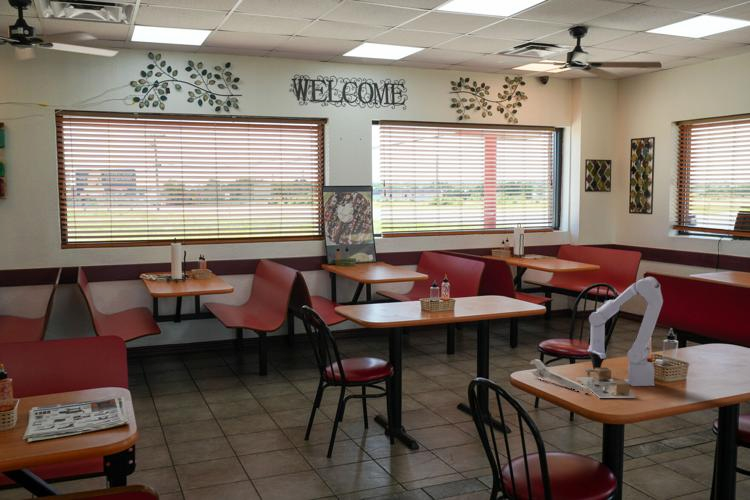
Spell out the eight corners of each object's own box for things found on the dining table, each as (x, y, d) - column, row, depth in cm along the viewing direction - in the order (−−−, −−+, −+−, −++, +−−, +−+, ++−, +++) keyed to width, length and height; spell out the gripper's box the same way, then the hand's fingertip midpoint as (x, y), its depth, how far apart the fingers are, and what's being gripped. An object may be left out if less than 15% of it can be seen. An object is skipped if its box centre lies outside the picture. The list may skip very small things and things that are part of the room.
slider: (606, 375, 282) (606, 367, 282) (611, 379, 277) (611, 370, 277) (582, 376, 282) (582, 367, 282) (586, 379, 277) (586, 371, 277)
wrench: (584, 402, 263) (528, 375, 287) (587, 401, 264) (531, 374, 288) (587, 382, 261) (530, 357, 286) (590, 381, 262) (533, 357, 287)
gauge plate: (609, 378, 283) (609, 367, 283) (635, 398, 257) (635, 385, 257) (576, 379, 283) (576, 367, 282) (599, 399, 257) (599, 386, 256)
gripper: (582, 335, 293) (581, 366, 294) (594, 343, 278) (593, 375, 279) (598, 335, 293) (597, 366, 294) (611, 343, 278) (610, 375, 280)
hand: (596, 370), depth 287 cm, fingers closed
